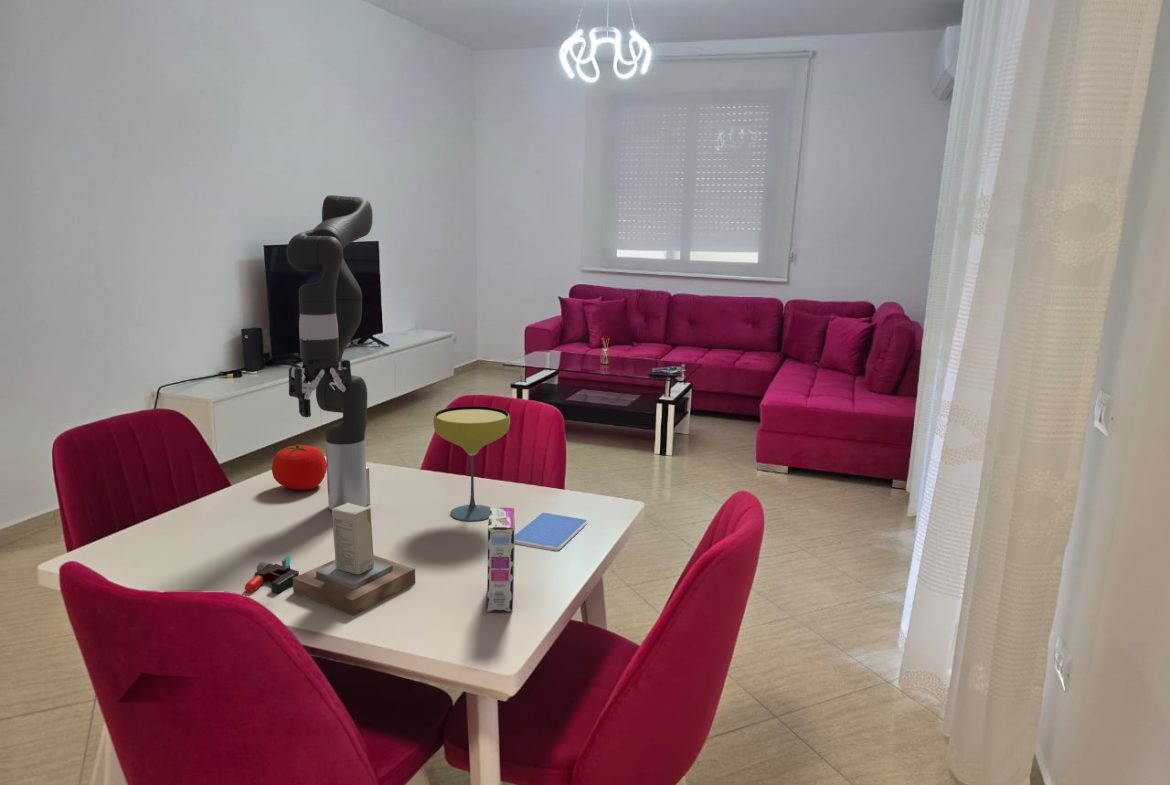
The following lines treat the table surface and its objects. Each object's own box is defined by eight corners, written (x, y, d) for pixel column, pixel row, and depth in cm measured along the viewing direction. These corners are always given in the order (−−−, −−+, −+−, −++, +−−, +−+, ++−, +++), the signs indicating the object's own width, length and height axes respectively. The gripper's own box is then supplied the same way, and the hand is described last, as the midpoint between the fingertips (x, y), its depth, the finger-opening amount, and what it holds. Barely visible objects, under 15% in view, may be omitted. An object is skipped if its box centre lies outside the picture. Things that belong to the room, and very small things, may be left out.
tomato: (337, 484, 210) (336, 442, 207) (300, 499, 198) (298, 455, 195) (301, 477, 215) (299, 436, 213) (262, 491, 203) (260, 448, 200)
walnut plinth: (357, 563, 161) (357, 545, 160) (415, 582, 153) (415, 563, 152) (293, 592, 148) (292, 573, 147) (353, 615, 140) (352, 595, 139)
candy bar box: (514, 612, 142) (514, 528, 139) (486, 613, 142) (486, 528, 138) (514, 585, 153) (515, 506, 150) (488, 585, 153) (488, 506, 149)
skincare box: (374, 567, 150) (373, 507, 148) (358, 576, 146) (356, 514, 144) (350, 560, 153) (348, 501, 151) (333, 568, 149) (331, 508, 147)
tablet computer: (541, 516, 192) (541, 511, 192) (589, 523, 188) (589, 518, 187) (506, 544, 174) (507, 539, 174) (558, 554, 170) (559, 548, 170)
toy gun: (265, 568, 159) (264, 546, 158) (306, 583, 153) (305, 559, 152) (223, 586, 150) (221, 563, 149) (265, 602, 145) (263, 578, 144)
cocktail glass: (522, 518, 189) (523, 417, 184) (454, 532, 179) (453, 427, 174) (488, 496, 203) (488, 403, 198) (423, 508, 193) (421, 410, 188)
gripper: (333, 330, 167) (336, 404, 170) (277, 337, 155) (281, 416, 158) (358, 333, 163) (361, 409, 166) (302, 341, 151) (306, 422, 154)
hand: (322, 412), depth 162 cm, fingers open, 8 cm apart
